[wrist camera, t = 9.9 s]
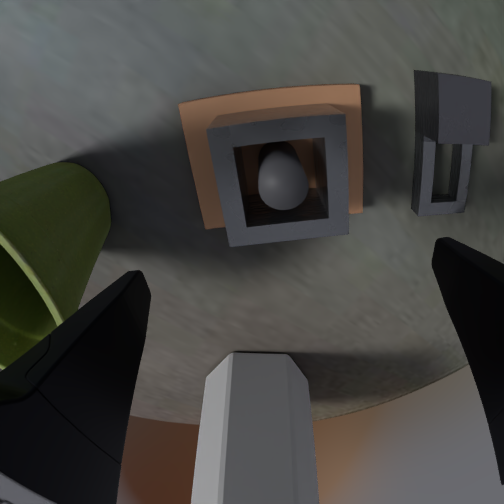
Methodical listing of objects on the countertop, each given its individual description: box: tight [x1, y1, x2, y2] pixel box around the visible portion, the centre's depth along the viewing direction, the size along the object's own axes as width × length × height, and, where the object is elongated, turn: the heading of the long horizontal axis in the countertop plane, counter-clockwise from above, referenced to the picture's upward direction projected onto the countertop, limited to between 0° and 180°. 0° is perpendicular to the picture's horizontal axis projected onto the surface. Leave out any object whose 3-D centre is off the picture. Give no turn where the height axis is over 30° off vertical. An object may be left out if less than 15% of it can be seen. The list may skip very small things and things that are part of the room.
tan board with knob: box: [178, 84, 363, 229], centre depth 16 cm, size 10×8×6 cm
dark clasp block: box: [411, 70, 491, 216], centre depth 16 cm, size 4×10×3 cm, turn 8°
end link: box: [206, 103, 349, 247], centre depth 16 cm, size 6×6×4 cm
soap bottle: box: [191, 352, 319, 504], centre depth 21 cm, size 10×9×22 cm
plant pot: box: [0, 162, 111, 369], centre depth 15 cm, size 12×12×11 cm
